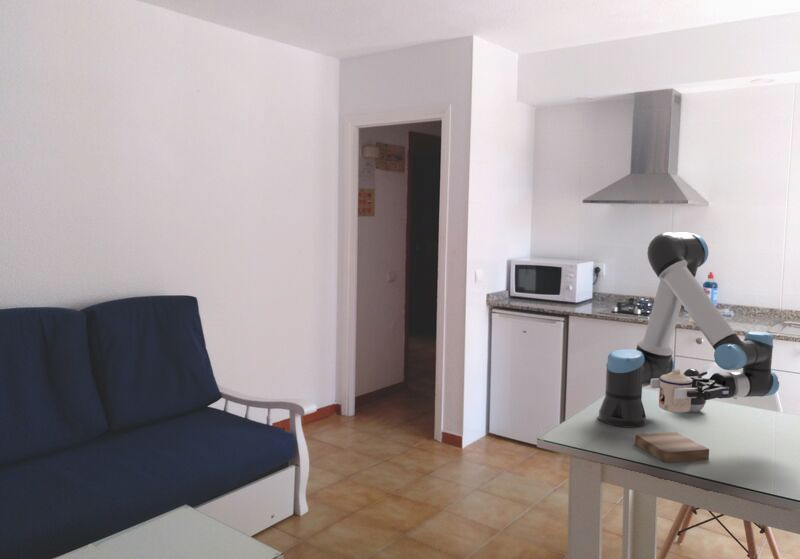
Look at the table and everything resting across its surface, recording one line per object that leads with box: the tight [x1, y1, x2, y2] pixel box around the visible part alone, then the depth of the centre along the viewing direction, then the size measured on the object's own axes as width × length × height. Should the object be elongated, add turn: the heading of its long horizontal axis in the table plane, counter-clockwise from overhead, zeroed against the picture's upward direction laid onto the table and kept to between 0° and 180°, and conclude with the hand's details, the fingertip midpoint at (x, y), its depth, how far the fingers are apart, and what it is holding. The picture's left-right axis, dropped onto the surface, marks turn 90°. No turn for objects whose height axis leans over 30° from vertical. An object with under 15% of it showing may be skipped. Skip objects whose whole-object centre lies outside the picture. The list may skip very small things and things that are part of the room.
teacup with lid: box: [658, 368, 693, 413], centre depth 192 cm, size 12×9×12 cm
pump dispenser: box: [682, 368, 708, 413], centre depth 235 cm, size 10×10×15 cm
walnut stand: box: [634, 431, 710, 464], centre depth 194 cm, size 15×14×3 cm
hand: (663, 388), depth 191 cm, fingers closed on teacup with lid, 11 cm apart
